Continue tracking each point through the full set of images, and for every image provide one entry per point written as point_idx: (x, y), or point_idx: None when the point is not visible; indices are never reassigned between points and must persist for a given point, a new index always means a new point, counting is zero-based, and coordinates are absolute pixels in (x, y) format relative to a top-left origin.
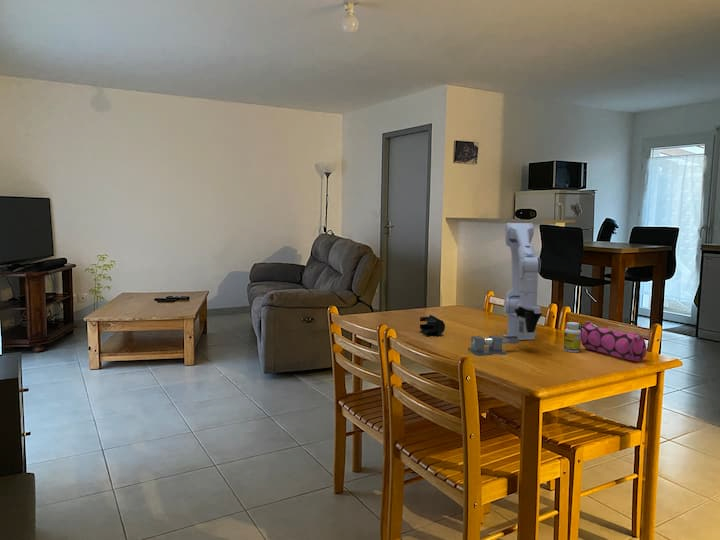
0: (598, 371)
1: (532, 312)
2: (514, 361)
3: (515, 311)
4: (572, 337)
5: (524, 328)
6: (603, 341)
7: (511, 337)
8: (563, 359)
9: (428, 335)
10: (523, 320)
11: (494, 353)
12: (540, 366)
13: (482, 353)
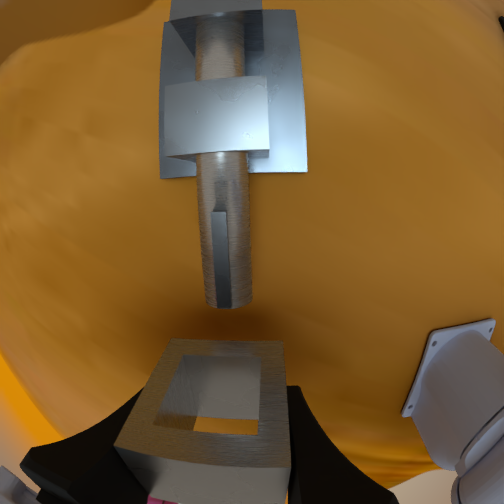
0: (22, 371)
1: (44, 494)
2: (58, 175)
3: (370, 493)
4: None
5: (154, 379)
6: (154, 500)
7: (215, 257)
8: (100, 376)
9: (501, 18)
10: (157, 434)
11: (160, 106)
12: (18, 250)
13: (162, 45)
